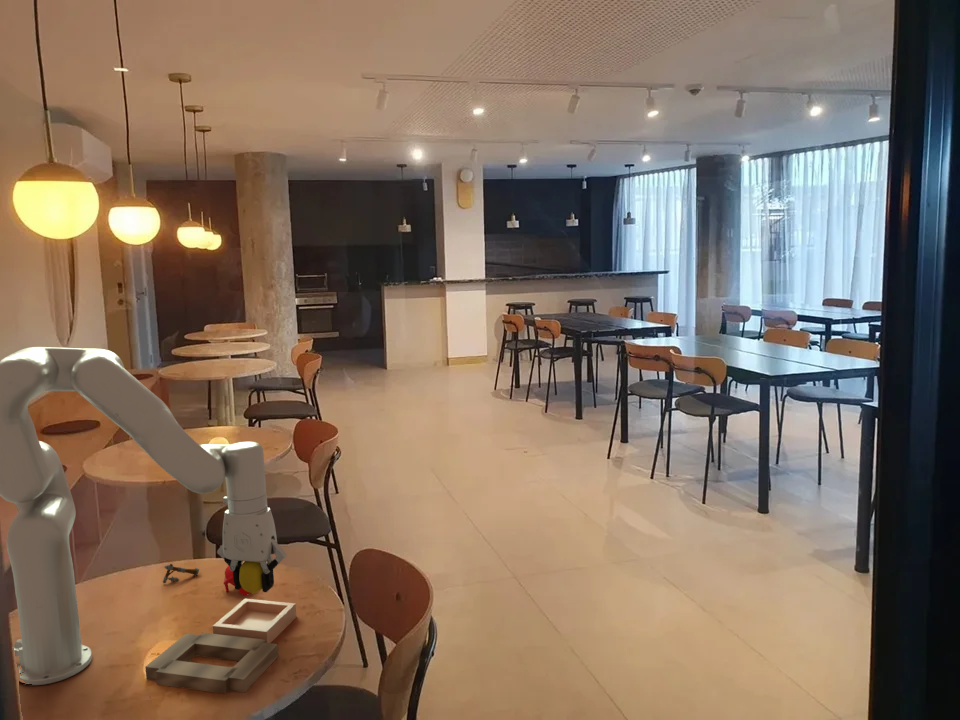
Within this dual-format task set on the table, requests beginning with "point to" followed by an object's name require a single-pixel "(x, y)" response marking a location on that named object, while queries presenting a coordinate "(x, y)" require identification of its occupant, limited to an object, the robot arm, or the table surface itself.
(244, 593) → the cap
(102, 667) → the table surface
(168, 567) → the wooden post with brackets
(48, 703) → the table surface
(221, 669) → the rectangular open frame
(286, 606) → the tray
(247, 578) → the lemon
